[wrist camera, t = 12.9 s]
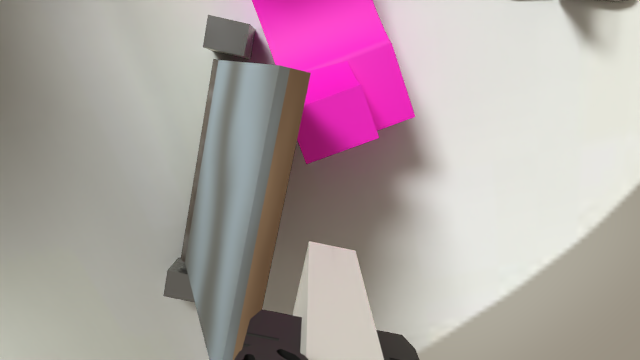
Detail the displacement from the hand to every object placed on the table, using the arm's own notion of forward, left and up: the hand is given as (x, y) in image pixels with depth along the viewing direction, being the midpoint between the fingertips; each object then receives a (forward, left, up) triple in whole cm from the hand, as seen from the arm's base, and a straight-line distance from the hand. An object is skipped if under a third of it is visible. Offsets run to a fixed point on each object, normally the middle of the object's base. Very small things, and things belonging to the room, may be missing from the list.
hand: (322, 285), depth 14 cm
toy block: (-3, +10, -16) cm, 19 cm away
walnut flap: (-7, 0, -15) cm, 16 cm away
